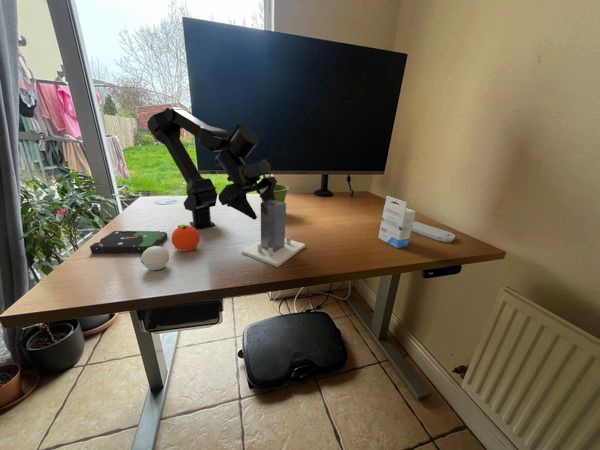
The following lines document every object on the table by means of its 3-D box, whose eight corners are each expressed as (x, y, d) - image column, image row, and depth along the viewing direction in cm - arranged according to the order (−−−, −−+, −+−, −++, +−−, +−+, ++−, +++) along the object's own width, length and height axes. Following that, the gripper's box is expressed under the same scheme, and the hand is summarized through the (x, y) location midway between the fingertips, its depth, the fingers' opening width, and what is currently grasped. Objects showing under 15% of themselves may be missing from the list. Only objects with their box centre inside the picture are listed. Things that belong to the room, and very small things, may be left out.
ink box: (408, 246, 76) (419, 201, 70) (397, 248, 74) (407, 202, 68) (388, 235, 83) (397, 194, 77) (377, 237, 81) (385, 195, 75)
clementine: (167, 247, 66) (163, 224, 64) (192, 240, 71) (189, 218, 69) (180, 258, 62) (176, 233, 59) (205, 250, 66) (203, 226, 64)
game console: (458, 233, 83) (449, 238, 78) (456, 240, 83) (446, 245, 79) (409, 218, 95) (398, 221, 91) (407, 223, 96) (396, 227, 91)
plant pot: (253, 217, 93) (253, 188, 89) (264, 208, 104) (264, 182, 99) (283, 221, 91) (284, 191, 86) (291, 211, 101) (292, 185, 97)
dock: (241, 253, 66) (241, 244, 65) (272, 236, 77) (272, 228, 76) (277, 266, 60) (277, 257, 59) (304, 246, 72) (305, 238, 70)
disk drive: (91, 256, 61) (152, 255, 63) (88, 246, 60) (150, 245, 62) (115, 239, 71) (168, 238, 73) (113, 230, 70) (167, 230, 72)
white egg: (148, 263, 59) (143, 242, 57) (173, 261, 60) (170, 241, 58) (135, 281, 52) (130, 258, 50) (164, 279, 53) (160, 256, 51)
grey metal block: (260, 247, 68) (260, 203, 63) (270, 241, 72) (271, 199, 67) (274, 252, 66) (275, 206, 61) (284, 246, 69) (285, 203, 64)
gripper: (223, 150, 55) (261, 206, 54) (272, 148, 70) (302, 191, 69) (203, 179, 61) (236, 230, 61) (252, 171, 77) (279, 211, 76)
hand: (266, 214), depth 66 cm, fingers open, 9 cm apart
